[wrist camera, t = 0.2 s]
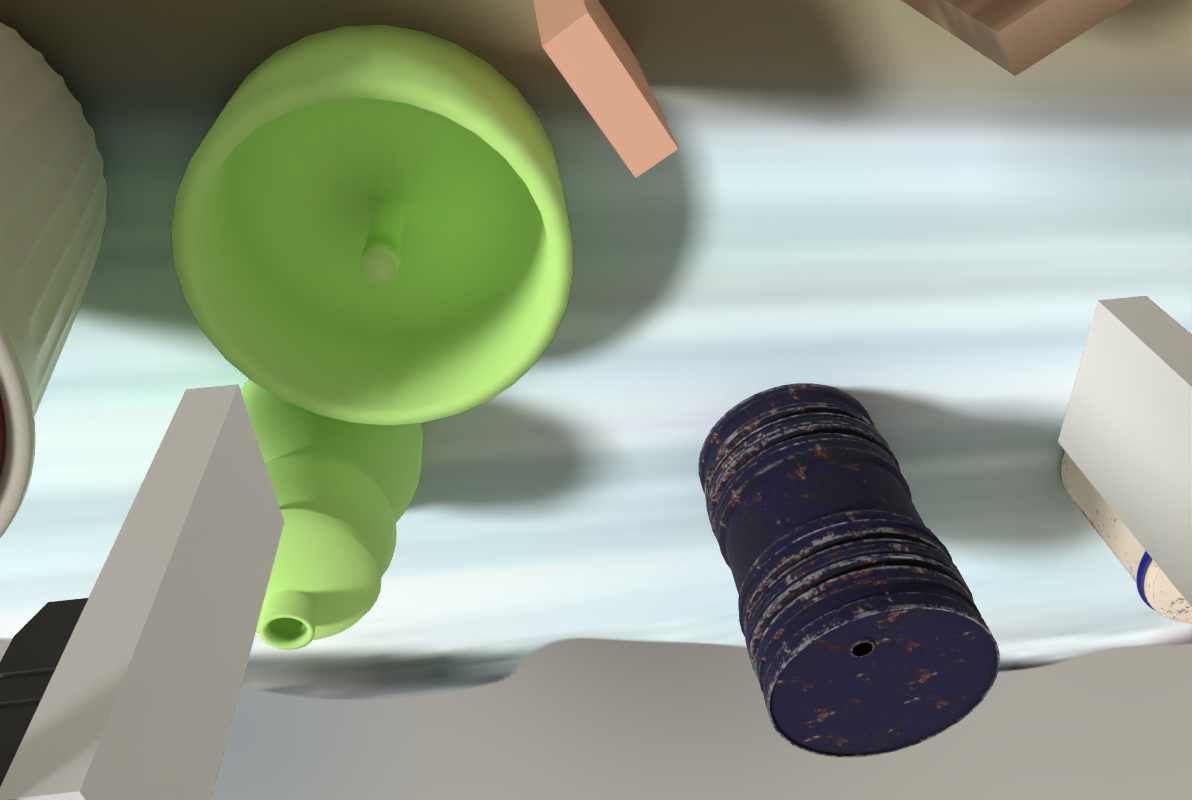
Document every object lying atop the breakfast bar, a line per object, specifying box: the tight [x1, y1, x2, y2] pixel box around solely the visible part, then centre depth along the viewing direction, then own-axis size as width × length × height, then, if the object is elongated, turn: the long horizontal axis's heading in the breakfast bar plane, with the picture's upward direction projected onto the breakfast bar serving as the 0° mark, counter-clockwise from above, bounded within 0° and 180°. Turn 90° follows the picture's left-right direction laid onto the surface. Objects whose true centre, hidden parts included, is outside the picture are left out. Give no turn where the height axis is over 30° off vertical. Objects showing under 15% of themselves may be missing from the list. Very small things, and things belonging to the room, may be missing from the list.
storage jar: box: [699, 384, 1000, 757], centre depth 45 cm, size 10×10×15 cm
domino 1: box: [533, 0, 678, 178], centre depth 32 cm, size 2×5×10 cm, turn 34°
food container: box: [171, 25, 573, 650], centre depth 38 cm, size 25×15×13 cm, turn 159°
